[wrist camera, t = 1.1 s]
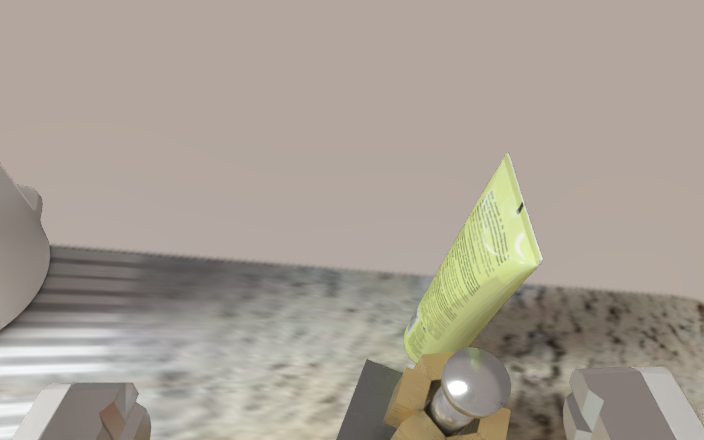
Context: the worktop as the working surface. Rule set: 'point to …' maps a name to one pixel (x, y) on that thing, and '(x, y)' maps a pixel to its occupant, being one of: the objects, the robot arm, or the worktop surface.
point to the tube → (477, 270)
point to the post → (445, 406)
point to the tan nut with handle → (421, 385)
